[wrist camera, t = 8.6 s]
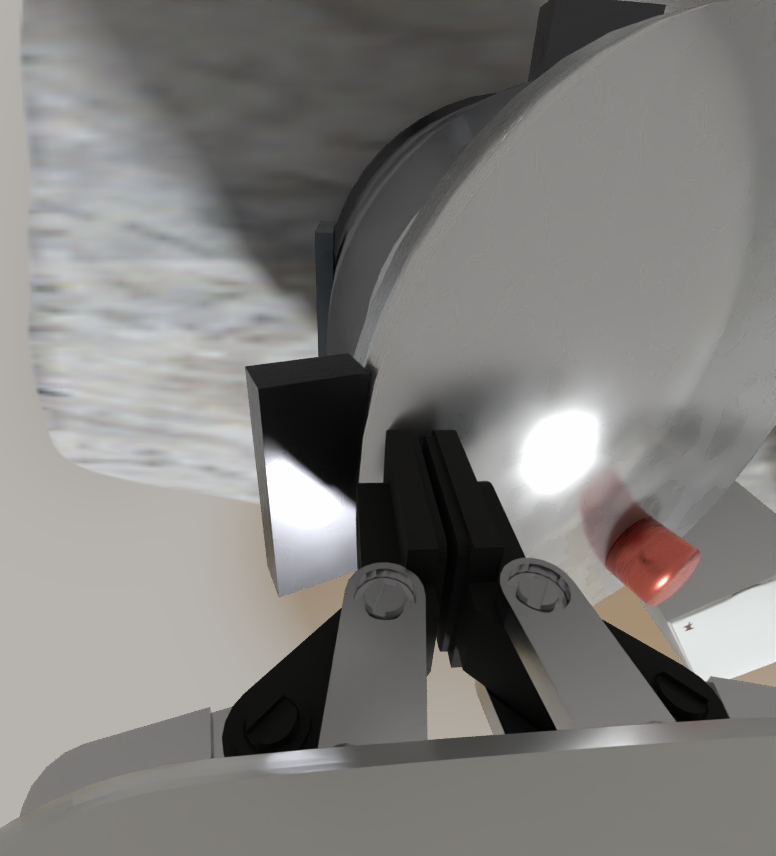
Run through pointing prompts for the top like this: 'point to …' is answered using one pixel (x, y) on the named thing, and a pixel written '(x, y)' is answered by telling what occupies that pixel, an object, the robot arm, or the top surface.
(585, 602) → the robot arm
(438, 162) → the pressure cooker
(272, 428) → the lid
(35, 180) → the top surface
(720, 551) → the supplement box
